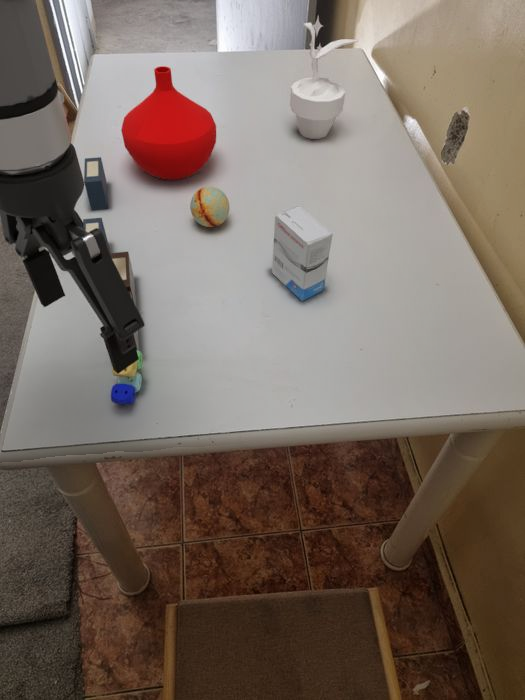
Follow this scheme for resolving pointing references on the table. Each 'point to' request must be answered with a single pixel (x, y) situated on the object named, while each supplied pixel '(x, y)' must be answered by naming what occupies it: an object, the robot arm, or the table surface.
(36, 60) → the robot arm
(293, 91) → the potted plant
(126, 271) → the brown paneled block
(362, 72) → the table surface
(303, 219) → the ink box
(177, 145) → the vase
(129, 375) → the dice
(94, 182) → the blue block
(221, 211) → the ball
